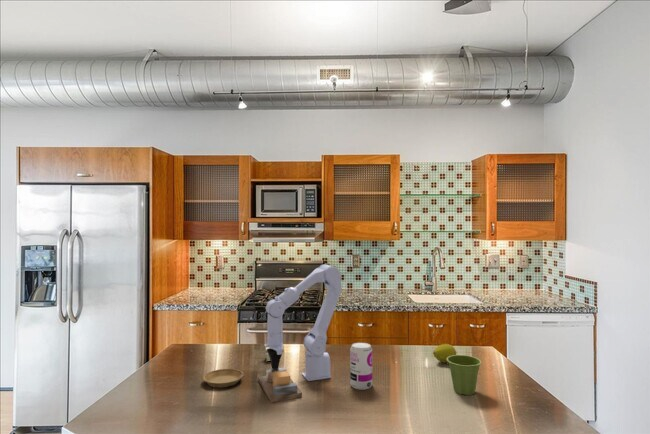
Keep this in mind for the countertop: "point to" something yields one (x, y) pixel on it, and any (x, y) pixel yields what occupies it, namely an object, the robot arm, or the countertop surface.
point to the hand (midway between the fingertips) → (275, 368)
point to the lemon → (444, 352)
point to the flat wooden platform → (280, 390)
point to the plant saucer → (223, 377)
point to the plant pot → (464, 373)
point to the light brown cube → (281, 378)
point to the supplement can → (361, 366)
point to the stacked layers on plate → (267, 354)
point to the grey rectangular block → (270, 373)
